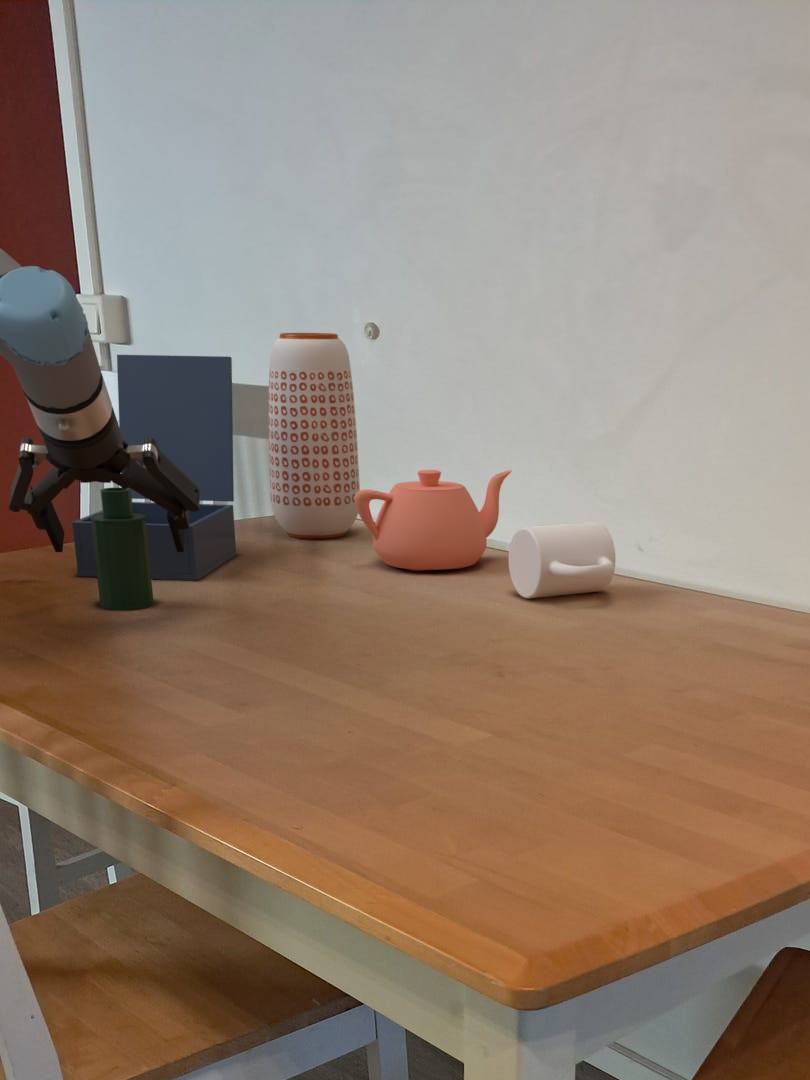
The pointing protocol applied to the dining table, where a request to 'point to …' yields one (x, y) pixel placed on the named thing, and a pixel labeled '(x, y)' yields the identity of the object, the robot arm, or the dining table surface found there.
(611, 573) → the mug
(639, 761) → the dining table surface
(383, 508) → the teapot
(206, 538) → the chest
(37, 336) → the robot arm
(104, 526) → the bottle
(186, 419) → the chest lid
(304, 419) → the white patterned vase
